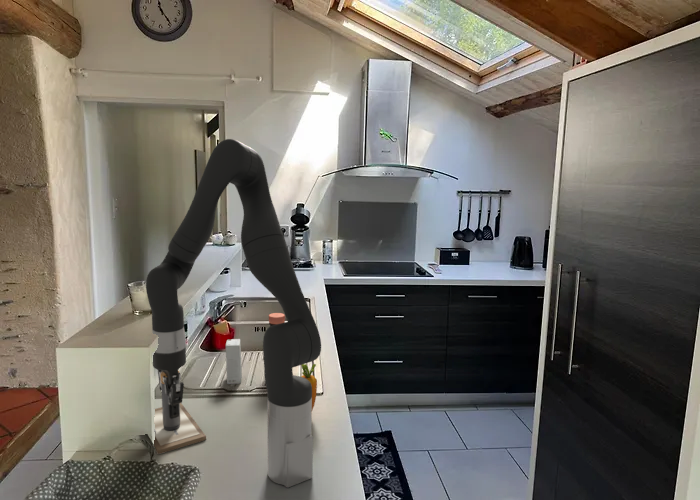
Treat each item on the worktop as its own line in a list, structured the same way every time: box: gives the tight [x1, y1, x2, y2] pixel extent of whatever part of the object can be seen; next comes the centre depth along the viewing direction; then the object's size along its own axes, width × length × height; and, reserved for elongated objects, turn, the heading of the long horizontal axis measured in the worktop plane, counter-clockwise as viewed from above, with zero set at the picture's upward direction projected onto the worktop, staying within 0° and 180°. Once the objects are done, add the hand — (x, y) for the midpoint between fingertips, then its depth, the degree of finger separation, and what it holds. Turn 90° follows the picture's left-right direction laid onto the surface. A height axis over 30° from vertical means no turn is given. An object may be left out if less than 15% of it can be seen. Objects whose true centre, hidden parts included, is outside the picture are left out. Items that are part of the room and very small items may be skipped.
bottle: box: [268, 312, 286, 327], centre depth 149 cm, size 7×7×20 cm
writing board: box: [153, 402, 207, 455], centre depth 119 cm, size 20×11×2 cm, turn 36°
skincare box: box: [225, 338, 243, 385], centre depth 147 cm, size 6×4×12 cm
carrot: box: [300, 363, 318, 411], centre depth 125 cm, size 5×5×15 cm
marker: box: [160, 370, 180, 431], centre depth 117 cm, size 4×4×14 cm
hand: (171, 413), depth 117 cm, fingers closed on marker, 4 cm apart
